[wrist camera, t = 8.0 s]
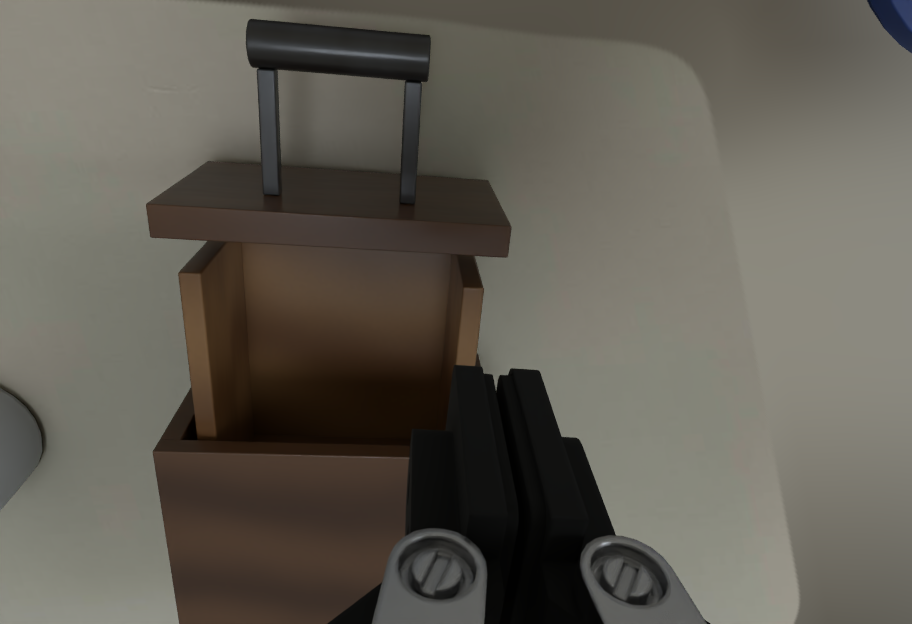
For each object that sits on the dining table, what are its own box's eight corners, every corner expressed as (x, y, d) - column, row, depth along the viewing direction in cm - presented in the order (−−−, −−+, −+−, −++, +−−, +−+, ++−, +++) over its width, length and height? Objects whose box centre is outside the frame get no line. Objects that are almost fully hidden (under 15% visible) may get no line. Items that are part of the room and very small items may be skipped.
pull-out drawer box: (194, 11, 24) (119, 7, 18) (503, 40, 25) (535, 46, 19) (231, 432, 33) (188, 530, 26) (460, 438, 34) (472, 533, 28)
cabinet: (216, 343, 31) (152, 451, 23) (478, 353, 33) (500, 459, 25) (237, 563, 38) (191, 707, 30) (454, 565, 39) (465, 702, 31)
